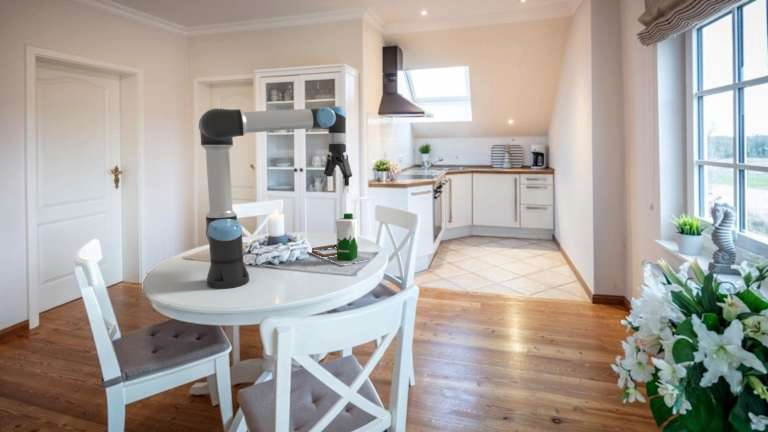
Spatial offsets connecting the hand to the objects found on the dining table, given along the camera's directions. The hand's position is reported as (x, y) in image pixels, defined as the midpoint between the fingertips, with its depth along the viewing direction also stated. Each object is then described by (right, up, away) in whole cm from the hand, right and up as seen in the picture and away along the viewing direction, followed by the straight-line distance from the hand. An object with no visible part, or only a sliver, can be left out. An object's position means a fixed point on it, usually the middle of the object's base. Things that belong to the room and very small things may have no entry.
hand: (337, 192), depth 194 cm
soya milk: (+4, -30, +4) cm, 30 cm away
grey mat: (+4, -31, +4) cm, 31 cm away
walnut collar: (-6, -29, +18) cm, 34 cm away
